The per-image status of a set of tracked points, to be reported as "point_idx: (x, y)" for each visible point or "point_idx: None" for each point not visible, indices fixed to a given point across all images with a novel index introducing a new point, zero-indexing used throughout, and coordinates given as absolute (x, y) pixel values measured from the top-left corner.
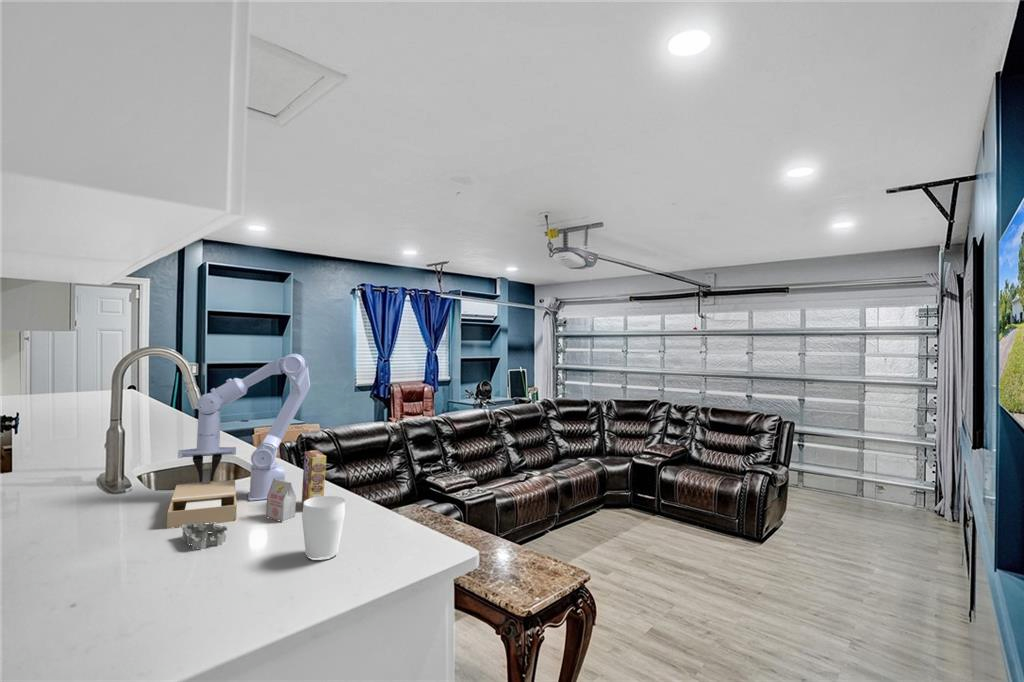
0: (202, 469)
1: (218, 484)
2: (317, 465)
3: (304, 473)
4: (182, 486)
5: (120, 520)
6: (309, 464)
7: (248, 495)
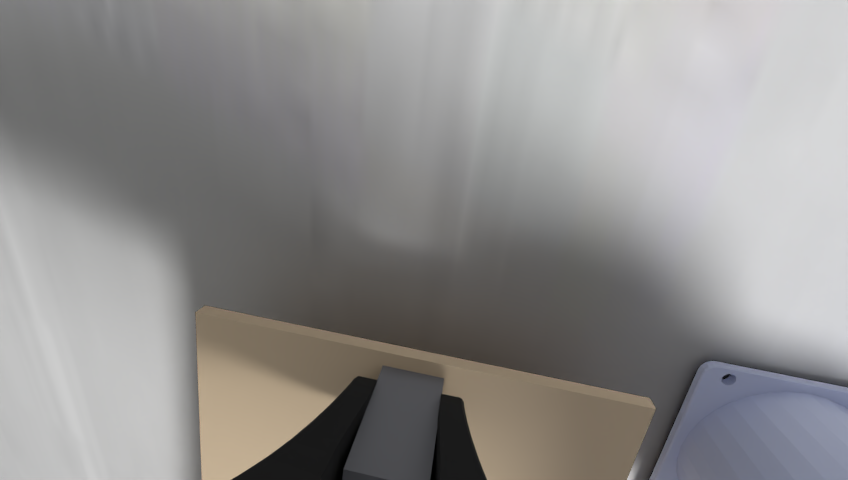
0: (341, 439)
1: (489, 472)
2: None
3: None
4: (241, 390)
5: (77, 445)
6: None
7: (676, 437)
